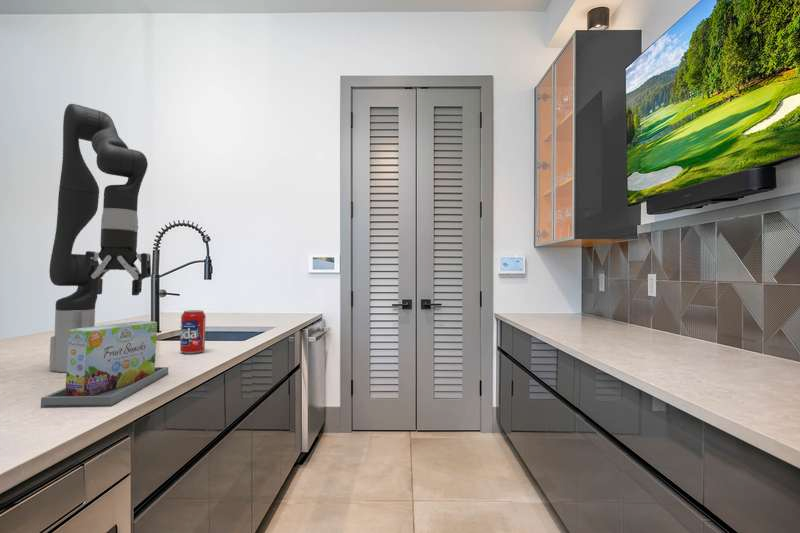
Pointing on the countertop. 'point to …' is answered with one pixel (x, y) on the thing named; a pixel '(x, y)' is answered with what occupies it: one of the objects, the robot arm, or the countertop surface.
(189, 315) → the soda can
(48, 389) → the countertop surface
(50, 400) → the tray
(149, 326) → the snack box
